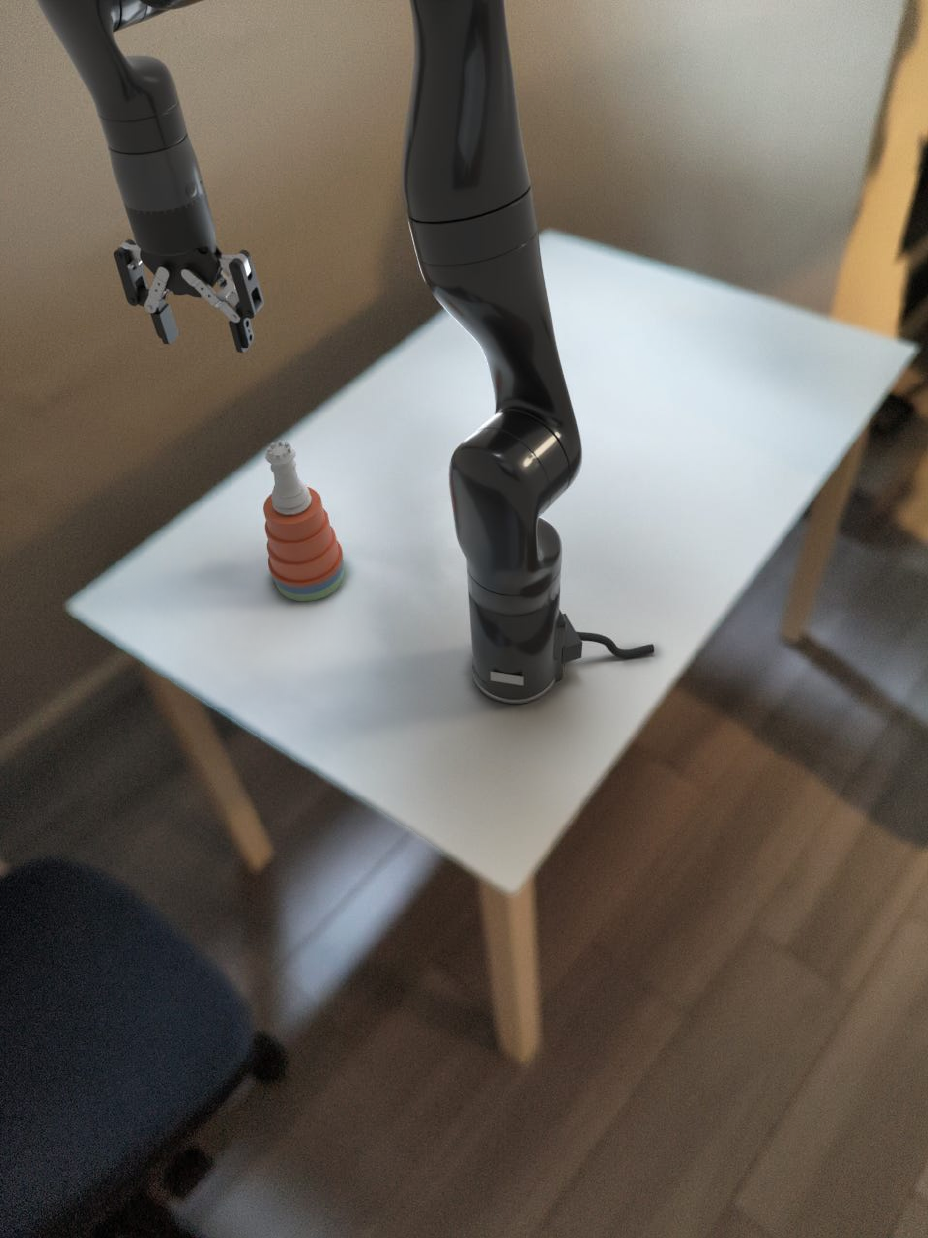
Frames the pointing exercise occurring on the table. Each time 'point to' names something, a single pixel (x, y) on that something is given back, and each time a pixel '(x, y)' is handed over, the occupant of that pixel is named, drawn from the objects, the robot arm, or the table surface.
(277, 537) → the cup stack
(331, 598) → the table surface
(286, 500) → the rook chess piece
